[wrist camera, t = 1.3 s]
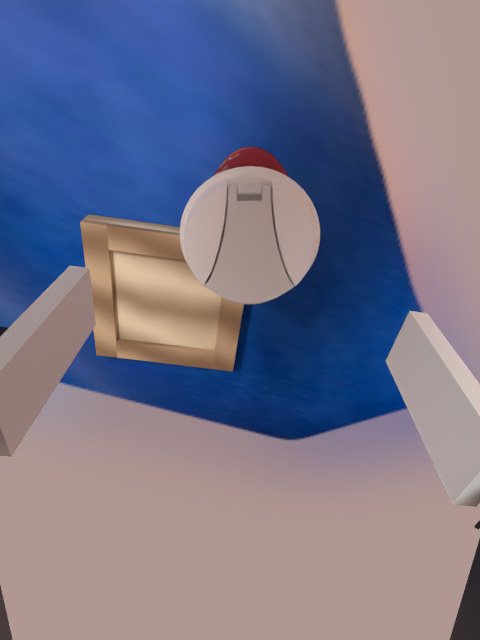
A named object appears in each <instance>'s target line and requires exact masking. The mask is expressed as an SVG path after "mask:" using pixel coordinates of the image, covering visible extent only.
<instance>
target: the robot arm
mask: <svg viewBox="0 0 480 640" xmlns="http://www.w3.org/2000/svg"><path fill="white" fill-rule="evenodd" d="M95 325H96V321H95V313H94V304H93V295H92V286H91V277H90V268H84V267H76V266H69V267H68V268H67V269H66V270H65V271H64V272H63V273H62V274H61V275H60V276H59V277H58V278H57V279H56V280H55V281H54V282H53V283H52V284H51V285H50V286H49V288H48V289H47V290H46V291H45V292H44V293H43V294H42V295H41V296H40V297H39V298H38V299H37V300H36V301H35V302H34V303H33V304H32V305H31V306H30V307H29V308H28V309H27V310H26V311H25V312H24V313H23V314H22V315H21V316H20V317H19V318H18V319H17V320H16V321H15V322H14V323H13V324H12V325H11V326H10V327H9V328H6V327H0V455H1V456H12V455H13V453H14V451H15V450H16V448H17V446H18V445H19V444H20V442H21V440H22V439H23V437H24V436H25V434H26V433H27V431H28V430H29V428H30V426H31V425H32V423H33V422H34V420H35V419H36V417H37V416H38V414H39V412H40V411H41V409H42V408H43V406H44V405H45V403H46V402H47V400H48V398H49V397H50V395H51V393H52V392H53V391H54V389H55V388H56V386H57V384H58V383H59V381H60V380H61V378H62V377H63V375H64V374H65V372H66V370H67V369H68V367H69V366H70V364H71V363H72V361H73V359H74V358H75V356H76V355H77V353H78V352H79V350H80V349H81V347H82V345H83V344H84V342H85V341H86V339H87V338H88V336H89V335H90V333H91V331H92V330H93V328H94V327H95ZM386 363H387V365H388V367H389V370H390V372H391V374H392V376H393V378H394V380H395V382H396V385H397V387H398V389H399V391H400V393H401V395H402V397H403V400H404V402H405V404H406V406H407V408H408V410H409V413H410V415H411V417H412V419H413V421H414V423H415V425H416V428H417V430H418V432H419V434H420V436H421V438H422V440H423V443H424V445H425V447H426V449H427V451H428V453H429V456H430V458H431V460H432V462H433V464H434V466H435V468H436V471H437V473H438V475H439V477H440V479H441V481H442V484H443V486H444V488H445V490H446V492H447V494H448V497H449V499H450V501H451V503H452V504H457V505H466V506H475V507H476V506H477V505H478V504H479V503H480V384H479V383H478V381H477V380H476V379H475V377H474V376H473V375H472V373H471V372H470V371H469V369H468V368H467V367H466V365H465V364H464V363H463V361H462V360H461V358H460V357H459V356H458V354H457V353H456V352H455V351H454V349H453V347H452V346H451V345H450V343H449V342H448V341H447V339H446V338H445V337H444V335H443V334H442V333H441V331H440V330H439V328H438V327H437V326H436V324H435V323H434V322H433V320H432V319H431V318H430V316H429V315H428V313H421V312H414V311H409V313H408V315H407V317H406V319H405V321H404V324H403V326H402V328H401V330H400V332H399V334H398V336H397V338H396V340H395V342H394V345H393V347H392V349H391V351H390V353H389V355H388V357H387V359H386ZM475 528H477V529H479V528H480V521H479V522H478V523H477V524H476V525H475ZM0 640H12V635H11V631H10V627H9V622H8V618H7V613H6V609H5V604H4V600H3V595H2V591H1V586H0ZM450 640H480V540H479V543H478V547H477V550H476V553H475V557H474V560H473V563H472V567H471V570H470V573H469V577H468V580H467V584H466V587H465V590H464V594H463V597H462V601H461V604H460V607H459V611H458V614H457V617H456V621H455V624H454V628H453V631H452V634H451V637H450Z"/></svg>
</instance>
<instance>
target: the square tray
mask: <svg viewBox="0 0 480 640" xmlns="http://www.w3.org/2000/svg"><path fill="white" fill-rule="evenodd" d="M80 225H81V233H82V241H83V249H84V257H85V265H86V268H90V277H91V286H92V295H93V304H94V313H95V321H96V325H95V327H94V328H93V330H94V338H95V346H96V354H97V355H101V356H109V357H117V358H126V359H134V360H142V361H150V362H159V363H167V364H175V365H183V366H192V367H200V368H208V369H217V370H225V371H233V367H234V361H235V355H236V349H237V343H238V337H239V331H240V325H241V319H242V313H243V307H244V304H239V303H235V302H232V301H230V300H227V299H225V298H222V297H220V296H219V295H217V294H215V293H214V292H212V291H211V290H209V289H208V288H206V287H205V286H203V285H202V284H201V283H200V282H199V281H198V279H197V278H196V277H195V275H194V274H193V272H192V271H191V269H190V268H189V266H188V264H187V262H186V260H185V258H184V255H183V252H182V248H181V243H180V227H175V226H168V225H160V224H153V223H146V222H139V221H132V220H125V219H117V218H110V217H103V216H96V215H88V216H87V217H85V218H84V219H83V220H82V221H81V222H80Z"/></svg>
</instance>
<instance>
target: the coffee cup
mask: <svg viewBox="0 0 480 640" xmlns="http://www.w3.org/2000/svg"><path fill="white" fill-rule="evenodd" d="M180 243H181V248H182V252H183V255H184V258H185V260H186V262H187V264H188V266H189V268H190V269H191V271H192V272H193V274H194V275H195V277H196V278H197V279H198V281H199V282H200V283H201V284H202V285H203V286H205V287H206V288H208V289H209V290H211V291H212V292H214V293H215V294H217V295H219V296H220V297H222V298H225V299H227V300H230V301H232V302H235V303H239V304H259V303H263V302H266V301H269V300H272V299H275V298H277V297H279V296H280V295H282V294H284V293H286V292H287V291H289V290H290V289H292V288H293V287H294V285H295V286H296V285H297V284H298V283H299V282H300V281H301V280H302V278H303V277H304V276H305V274H306V273H307V272H308V270H309V269H310V267H311V265H312V264H313V262H314V260H315V257H316V255H317V252H318V248H319V243H320V225H319V218H318V215H317V212H316V209H315V207H314V205H313V203H312V201H311V199H310V198H309V196H308V195H307V194H306V192H305V191H304V190H303V189H302V188H301V187H300V186H299V185H298V184H297V183H296V182H295V181H293V180H292V179H290V177H289V176H288V174H287V173H286V171H285V170H284V168H283V167H282V165H281V164H280V162H279V161H278V160H277V159H276V158H275V157H274V156H273V155H272V154H271V153H269V152H268V151H266V150H264V149H261V148H257V147H246V148H242V149H239V150H237V151H235V152H234V153H232V154H231V155H230V156H228V157H227V158H226V159H225V161H224V162H223V163H222V164H221V166H220V167H219V168H218V170H217V171H216V173H215V174H214V175H213V177H211V178H210V179H208V180H207V181H205V182H204V183H203V184H202V185H201V186H200V187H199V188H198V189H197V190H196V191H195V193H194V194H193V195H192V197H191V198H190V199H189V201H188V203H187V205H186V207H185V209H184V212H183V216H182V219H181V225H180Z"/></svg>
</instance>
